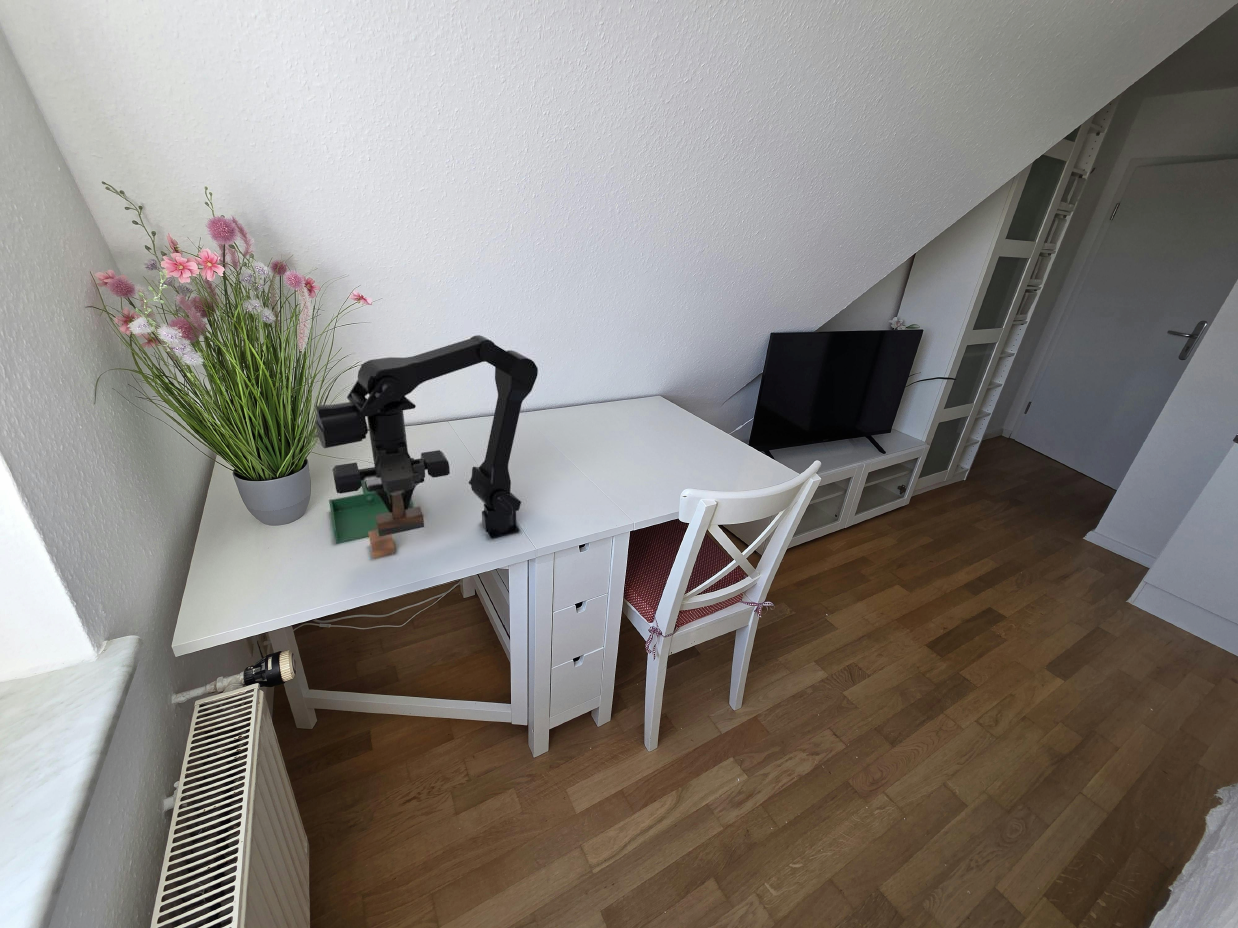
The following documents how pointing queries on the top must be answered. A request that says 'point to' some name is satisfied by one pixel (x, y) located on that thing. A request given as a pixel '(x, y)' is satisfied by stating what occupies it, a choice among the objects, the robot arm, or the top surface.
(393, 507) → the brush
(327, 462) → the top surface
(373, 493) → the dustpan
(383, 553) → the brown wooden cube
